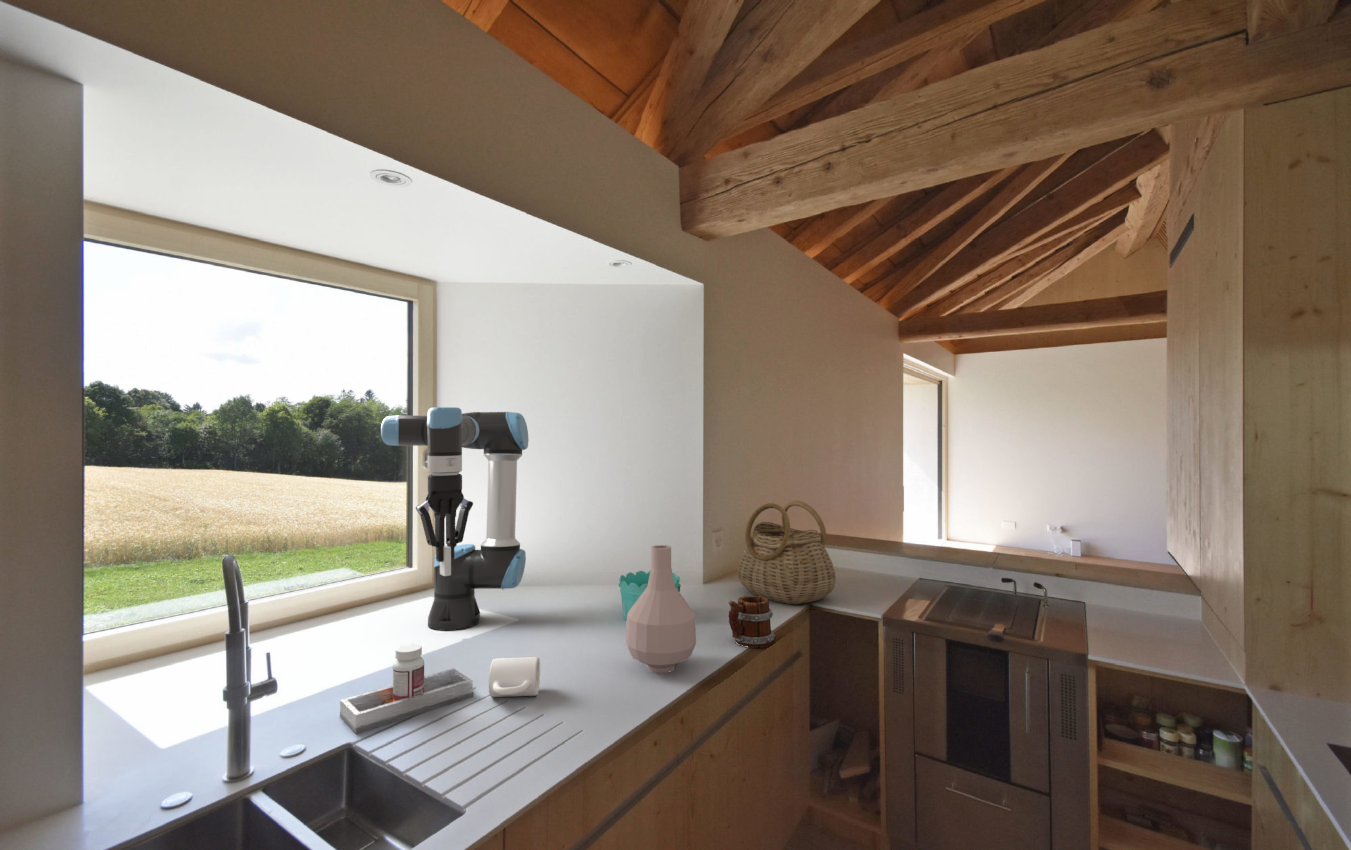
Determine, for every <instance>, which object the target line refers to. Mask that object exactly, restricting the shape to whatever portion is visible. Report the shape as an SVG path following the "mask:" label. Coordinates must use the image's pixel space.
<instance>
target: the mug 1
mask: <svg viewBox="0 0 1351 850" xmlns="http://www.w3.org/2000/svg"><path fill="white" fill-rule="evenodd" d="M540 661H541V660H540V657H538V656H532V657H531V656H530V657H529V656H528V657H524V656H523V657H499V658H497V657H496V658H493V659H492V661H491V663H490V667H489V674H488V694H489V696H490V697H491V698H505V697H506V698H507V697H533V696H538V693H539V689H540V681H541V679H540V678H541V662H540Z"/></svg>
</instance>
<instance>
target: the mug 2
mask: <svg viewBox="0 0 1351 850" xmlns="http://www.w3.org/2000/svg"><path fill="white" fill-rule="evenodd" d="M728 604H729V606H730V610H729V611H728V623H729V626H730V630H731V632H732V633H731V635H732V636H731V637H732V638H733V639H734V640H735V641H736V642H737V643H738V644H741V645H743V646H748V647H749V648H748V649H758V648H759V649H763V648H767V647H770V646H771V645H772V644H773V641H774V640H775V637H776V635H775V632H774V631H773V630H772V626H771V619H772V618H773V615H774V612H773V611H772V609H771V608H770V600H769V599H767V598H765V597H761V596H758V595H743V596H740V597H738V599H737V602H736V601H734V600H729V601H728ZM735 641H734V642H735ZM736 642H735V643H736ZM738 644H737V645H738ZM741 645H740V646H741ZM743 646H742V647H743Z"/></svg>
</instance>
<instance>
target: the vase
mask: <svg viewBox="0 0 1351 850" xmlns="http://www.w3.org/2000/svg"><path fill="white" fill-rule="evenodd" d="M650 550H651V556H650V557H651V558H650V560H651V561H650V562H651V565H650V567H651V568H650V570H649V571H650V576H649V581H648V586H647V588H646V589H645V591H644V592H643V593H642V595H641V596H640V597H639V599H638V600H637V601H636V603H635V604H634V605H633V607H632V608H631V609H630V610H629V612H628V614H627V621H626V624H625V625H626V626H625V629H626V632H625V644H626V646H627V649H628V652H629V655H630V656H631V657H632V659H633V660H635V661H636V662H639V663H642V664H644V665H647V669H648V671H649V672H651V673H655V674H667V673H670V672H669V671H671V672H672V671H674V670H673V669H675V666H676V665H677V664H680V663H682V662H684V661H687V660H688V659H689V658H690V657H691V656H692V655H693V652H694V649H695V647H696V645H697V633H696V631H697V627H696V613H695V611H694V610H693V608H691V606H690V604H689V603H688V602H687V601H686V599H685V598H684V596H683V595H682V594H681V592H679V591H678V590H677V589H676V587H675V583H674V578H673V573H674V572H673V569H672V546H671V545H667V544H666V545H665V544H658V545H657V544H656V545H652V546H651V549H650Z"/></svg>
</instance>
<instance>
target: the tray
mask: <svg viewBox="0 0 1351 850" xmlns="http://www.w3.org/2000/svg"><path fill="white" fill-rule="evenodd" d="M473 683H474V682H473V679H472V678H470V677H468V676H466V675H465V674H463V673H462V672H460V671H459V670H457V669H456V668H454V667H453V668H450V669H446V670H442V671H439V672H436V673H432V674H428V675H426V676H425V675H424V693H422V694H418V695H415V696H412V697H408V698H405V699H402V700H398V701H395V702H393V684H392V685H389V686H386V687H382V688H378V689H375V690H371V691H368V692H364V693H361V694H357V695H354V696H353V695H352V696H350V697H345V698H342V699H340V703H339V704H340V708H339V718H340V719H342V721H343V722H344V723H345V724H346V725H347V726H348V727H349V728H350V729H351V730H352V732H353V733H354V734H355V735H358V734H360V733H364V732H366V731H369V730H373V729H375V728H379V727H382V726H385V725H388V724H391V723H395V722H397V721H400V720H401V721H402V720H403V719H407V718H410V717H414V716H417V715H420V714H423V713H425V712H429V711H432V710H435V709H438V708H442V707H444V706H448V705H451V704H455V703H457V702H458V703H459V702H460V701H464V700H467V699H470V698H473V697H474V692H473V688H474V687H473Z"/></svg>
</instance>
